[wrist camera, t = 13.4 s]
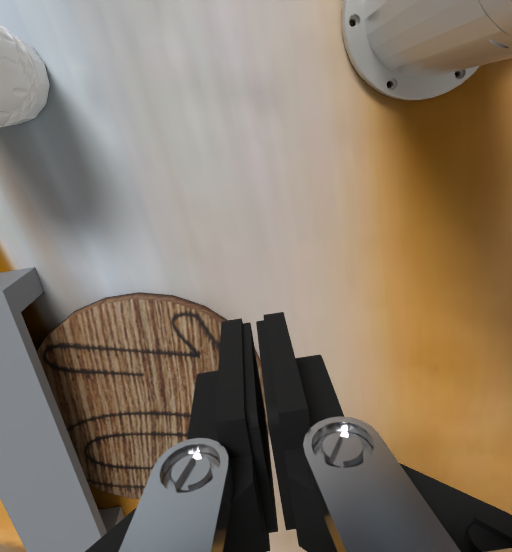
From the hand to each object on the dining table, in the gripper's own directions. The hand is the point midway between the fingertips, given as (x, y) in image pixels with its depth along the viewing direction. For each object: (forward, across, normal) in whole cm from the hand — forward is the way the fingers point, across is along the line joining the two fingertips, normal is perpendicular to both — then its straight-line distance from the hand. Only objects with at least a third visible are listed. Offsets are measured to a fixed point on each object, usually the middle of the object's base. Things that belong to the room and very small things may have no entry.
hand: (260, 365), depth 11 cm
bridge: (+27, +24, +20) cm, 41 cm away
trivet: (+28, +13, +20) cm, 36 cm away
